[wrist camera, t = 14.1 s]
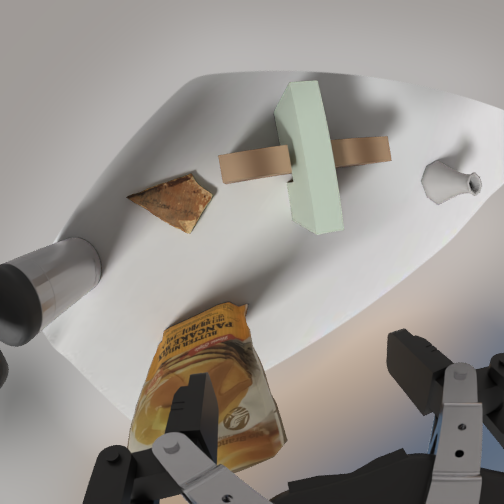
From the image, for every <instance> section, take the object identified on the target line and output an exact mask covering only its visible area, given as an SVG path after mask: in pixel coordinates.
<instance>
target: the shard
mask: <svg viewBox="0 0 504 504" xmlns="http://www.w3.org/2000/svg"><path fill="white" fill-rule="evenodd" d="M212 196H213V195H212V194H211V193H210V192H209V191H207V190H205V189H204V188H203V187H201V186H200V185H198V183H197V182H196V181H195V179H194V177H193V175H192V174H189V175H186V176H184V177H180V178H177V179H174V180H171V181H168V182H166V183H163V184H159V185H157V186H153V187H151V188H148V189H146V190H144V191H142V192H140V193H137V194H132V195H130V196H128V197H127V198H128V199H129V200H131V201H133V202H134V203H136V204H138V205H140V206H142V207H144V208H145V209H147V210H148V211H150V212H151V213H152V214H153V215H155V216H157V217H159V218H160V219H161V220H163V221H165V222H167V223H169V224H170V225H172V226H174V227H175V228H178V229H181V230H182V231H184V232H185V233H189V234H190V233H191V232H192V230H193V227H194V226H195V224H196V223H197V221H198V219H199V217H200V216H201V214H202V212H203V210H204V209H205V208H206V206H207V205H208V203H209V202H210V201H211V199H212Z"/></svg>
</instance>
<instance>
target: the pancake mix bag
mask: <svg viewBox="0 0 504 504" xmlns="http://www.w3.org/2000/svg"><path fill="white" fill-rule="evenodd" d="M247 308H248V304H245V305H242V306H236V305H234V304H232V303H230V302H227V303H223V304H219V305H217V306H215V307H212V308H210V309H208V310H206V311H204V312H202V313H200V314H198V315H196V316H194V317H192V318H190V319H188V320H185V321H183V322H181V323H178V324H176V325H174V326H172V327H170V328H168V329H167V330H165V331H164V333H163V340H162V342H161V343H160V344H159V345H158V348H157V352H156V354H155V356H154V358H153V360H152V363H151V366H150V368H149V371H148V374H147V378H146V380H145V383H144V385H143V388H142V390H141V393H140V396H139V399H138V402H137V404H136V408H135V413H134V417H133V420H132V423H131V428H130V433H129V439H128V446H127V448H128V449H129V451H130V452H131V453H133V452H138V451H142V450H146V449H149V448H152V445H153V443H154V441H155V440H156V439H157V438H158V437H160V436H161V435H164V433H165V429H166V425H167V421H168V417H169V413H170V411H171V410H170V409H171V404H172V400H173V396H174V394H175V393H176V391H177V390H178V389H179V388H180V387H181V386H188V383H189V378H190V375H191V374H197V373H205V372H208V374H209V376H210V379H211V382H212V385H213V389H214V392H215V395H216V398H217V402H218V408H219V419H218V447H217V465H219V464H222V465H224V466H225V467H227V468H228V469H229V470H230V471H231V472H233V473H236V472H239V471H242V470H244V469H247V468H249V467H252V466H254V465H256V464H259V463H261V462H263V461H266V460H268V459H270V458H273V457H274V456H275V455H276V454H277V453H278V451H279V450H280V449H281V448H282V447H283V445H284V444H285V443H286V442H287V438H286V434H285V430H284V427H283V423H282V420H281V417H280V414H279V410H278V407H277V404H276V402H275V400H274V398H273V396H272V395H271V392H270V389H269V385H268V382H267V378H266V375H265V372H264V369H263V366H262V364H261V361H260V359H259V357H258V355H257V353H256V351H255V349H254V347H253V345H252V339H251V333H250V329H249V327H248V326H247V323H246V318H245V316H246V314H247Z"/></svg>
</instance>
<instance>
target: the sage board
mask: <svg viewBox="0 0 504 504" xmlns="http://www.w3.org/2000/svg"><path fill="white" fill-rule="evenodd" d="M274 116H275V121H276V127H277V132H278V137H279V142H280V146H282V145H287V146H288V151H289V157H290V163H291V169H292V177H293V182H290V183H287V188H288V194H289V200H290V206H291V212H292V219H293V221H294V222H296V223H297V224H299V225H301V226H303V227H304V228H306V229H308V230H309V231H311V232H313V233H314V234H316V235H319V234H324V233H330V232H335V231H341V230H344V226H343V218H342V210H341V203H340V195H339V189H338V182H337V176H336V169H335V163H334V158H333V152H332V146H331V141H330V136H329V131H328V126H327V121H326V116H325V111H324V107H323V102H322V98H321V93H320V89H319V85H318V81H317V80H316V81H300V82H289V84H288V86H287V88H286V90H285V92H284V94H283V96H282V97H281V99H280V101H279V103H278V105H277V107H276V109H275V111H274Z"/></svg>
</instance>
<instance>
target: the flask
mask: <svg viewBox="0 0 504 504" xmlns="http://www.w3.org/2000/svg"><path fill="white" fill-rule="evenodd" d="M421 182H422V185H423V187H424V190H425V193H426V195H427V197H428V198H429V199H430V200H432V201H433V202H435V203H436V204H437V205H439V204H441V203H443V202H445V201H447V200H449V199H451V198H453V197H455V196H457V195H460V194H464V193H471V194H472V195H474V196H476V195H477V194H478V193H480V190H481V187H482V183H481V180H480V177H479V176H478V175H477V174H476V173H475V172H474V173H472V174H470V175H469V174H463V173H460V172H458V171H456V170H454V169H452V168H450V167H448V166H446V165H445V164H443V163H441V162H439V161H435V162H434V163H432V164H430V165H428V166H427V167H426V169H425V172H424V175H423V178H422V181H421Z"/></svg>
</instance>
